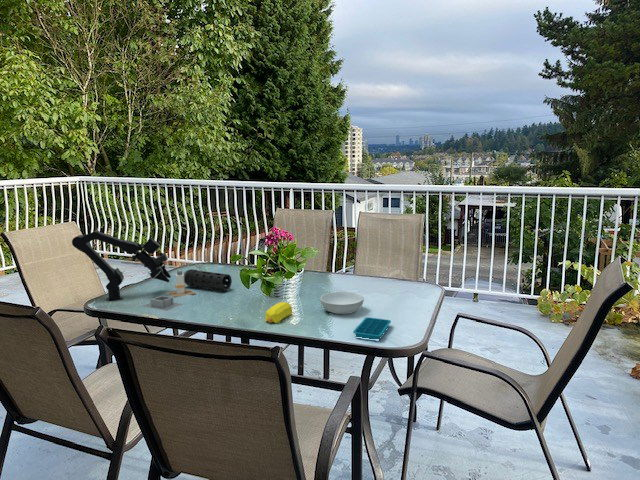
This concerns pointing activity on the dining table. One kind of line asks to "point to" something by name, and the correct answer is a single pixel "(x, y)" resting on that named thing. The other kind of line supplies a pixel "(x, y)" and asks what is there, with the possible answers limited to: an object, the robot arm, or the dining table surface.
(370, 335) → the ice cube tray
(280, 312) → the yellow oblong piece
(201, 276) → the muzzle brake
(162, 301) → the socket panel
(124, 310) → the dining table surface
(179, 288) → the plug
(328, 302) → the serving bowl
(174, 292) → the pad
